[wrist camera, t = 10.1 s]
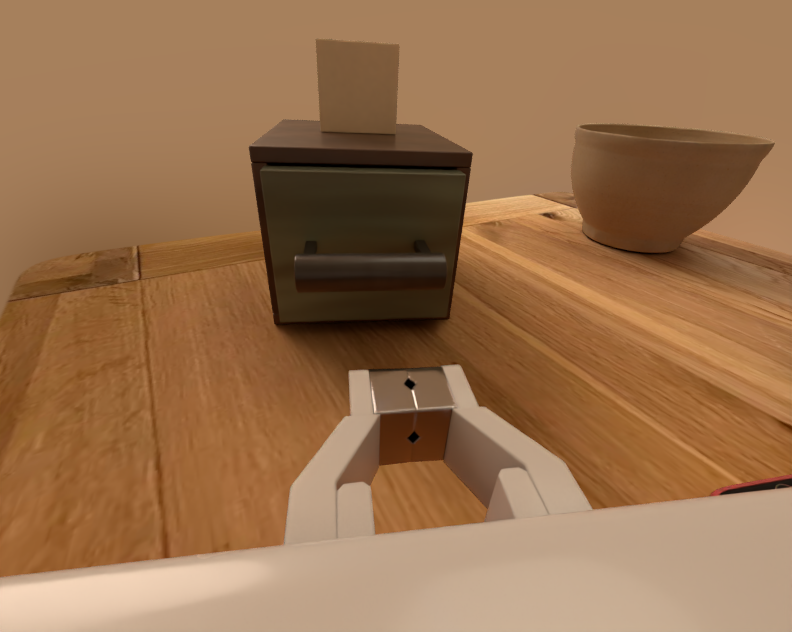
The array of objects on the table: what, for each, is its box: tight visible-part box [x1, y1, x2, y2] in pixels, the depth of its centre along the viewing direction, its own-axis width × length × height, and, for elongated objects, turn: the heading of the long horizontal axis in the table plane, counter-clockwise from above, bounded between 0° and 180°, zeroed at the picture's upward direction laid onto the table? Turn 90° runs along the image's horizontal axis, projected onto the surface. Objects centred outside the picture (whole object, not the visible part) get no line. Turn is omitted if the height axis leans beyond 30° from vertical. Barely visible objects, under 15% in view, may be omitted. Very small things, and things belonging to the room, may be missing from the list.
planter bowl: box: [571, 123, 775, 253], centre depth 39 cm, size 16×16×11 cm
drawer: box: [260, 163, 466, 322], centre depth 25 cm, size 18×10×9 cm, turn 8°
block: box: [316, 38, 399, 135], centre depth 26 cm, size 5×5×5 cm
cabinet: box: [249, 120, 473, 324], centre depth 28 cm, size 15×12×11 cm
